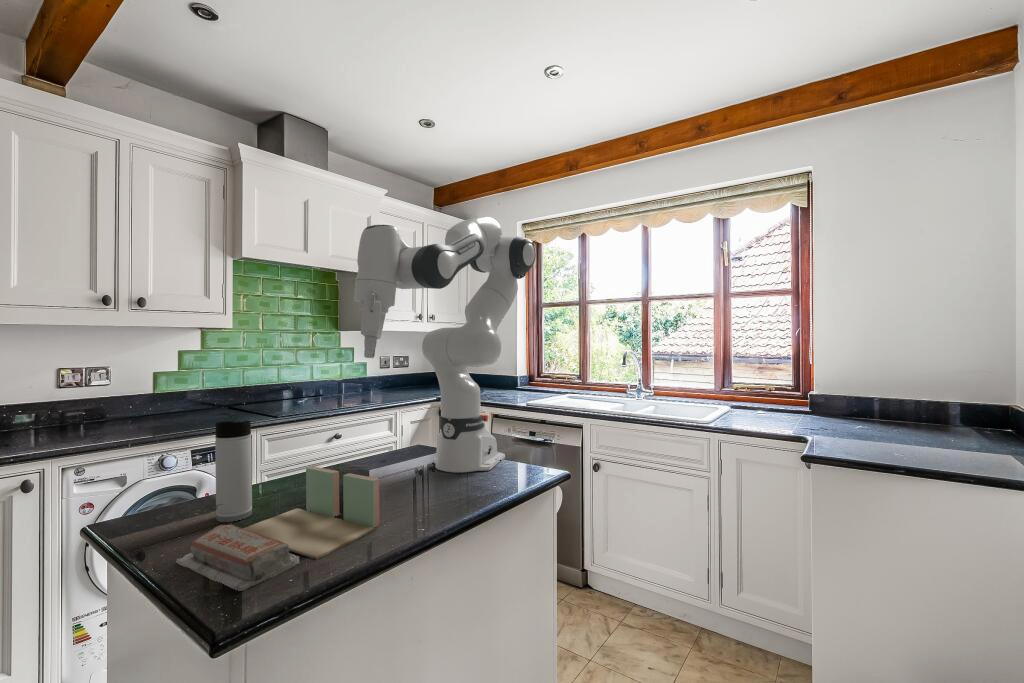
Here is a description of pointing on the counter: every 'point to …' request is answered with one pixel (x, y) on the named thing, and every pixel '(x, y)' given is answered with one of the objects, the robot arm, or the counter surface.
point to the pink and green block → (361, 499)
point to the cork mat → (310, 532)
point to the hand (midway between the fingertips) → (369, 357)
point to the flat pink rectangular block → (322, 491)
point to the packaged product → (238, 557)
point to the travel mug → (233, 470)
